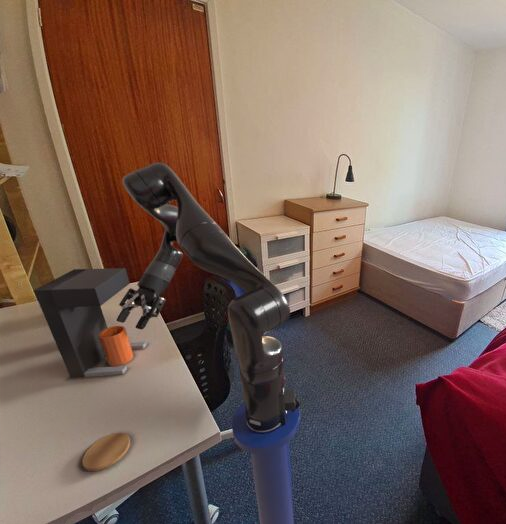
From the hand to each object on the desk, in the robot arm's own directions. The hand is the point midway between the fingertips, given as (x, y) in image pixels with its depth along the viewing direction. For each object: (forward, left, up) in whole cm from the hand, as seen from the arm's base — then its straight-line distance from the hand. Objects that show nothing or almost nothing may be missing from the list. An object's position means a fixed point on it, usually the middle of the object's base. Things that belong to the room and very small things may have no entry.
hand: (129, 325), depth 85 cm
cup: (+2, +4, -9) cm, 10 cm away
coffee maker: (+5, +4, -9) cm, 11 cm away
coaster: (-11, +34, -9) cm, 37 cm away
